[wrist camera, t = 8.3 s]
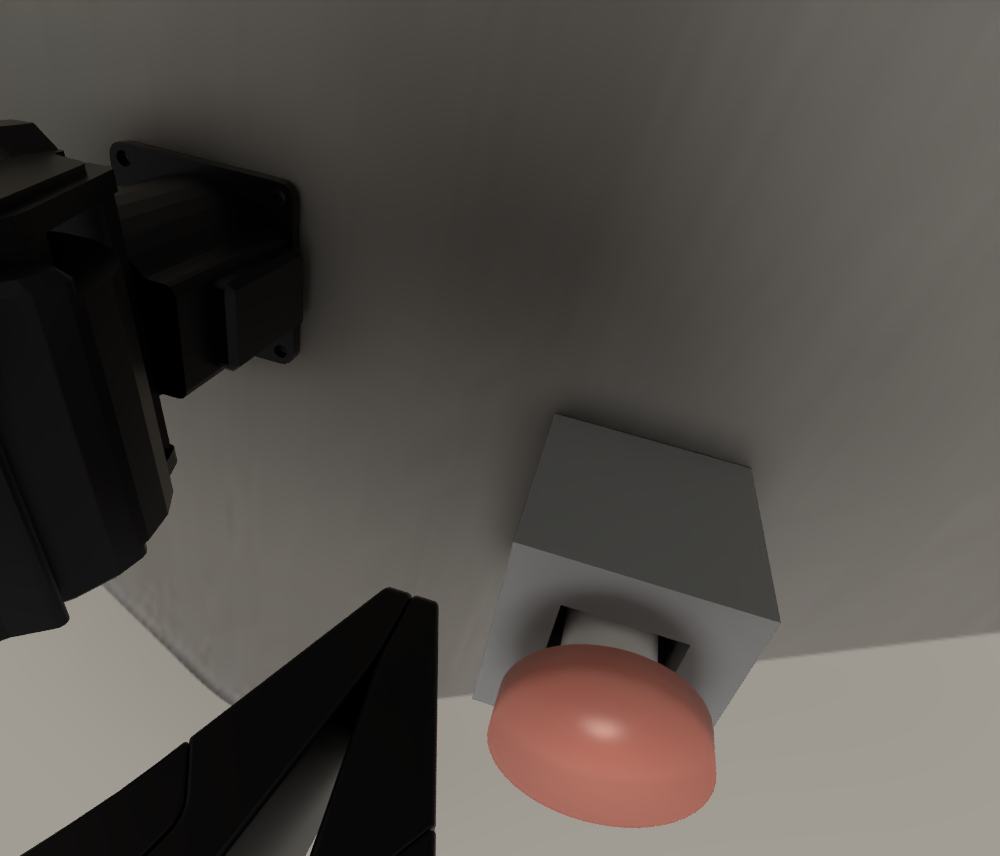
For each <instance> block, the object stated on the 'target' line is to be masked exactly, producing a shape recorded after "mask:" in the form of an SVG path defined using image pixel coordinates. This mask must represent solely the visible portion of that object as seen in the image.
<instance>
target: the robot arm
mask: <svg viewBox="0 0 1000 856" xmlns="http://www.w3.org/2000/svg"><path fill="white" fill-rule="evenodd" d="M125 153H127V154H128V155H129V157H130V160H131V161H130V163H129V161H128V160H127V159H126V156H125ZM110 160H111V166H112V167H109V166H104V165H97V164H91V163H85V162H82V161H78V160H75V159H71V158H67V157H65V154H64V150H59V149H58V148H57V147H56V146H55V145H54V144H53V143H52V142H51V141H50V140H49V139H48V138H47V137H46V136H45V135H44V134H43V133H42V131H41V130H40V129H39V128H38V127H37V126H36V125H35V124H34V123H31V122H24V121H18V120H1V121H0V641H1V640H4V639H7V638H10V637H15V636H20V635H25V634H30V633H35V632H41V631H46V630H50V629H55V628H60V627H62V626H63V625H65V624H66V623H67V622H68V621H69V614H68V612H67V609H66V607H65V604H64V602H66V601H69V600H72V599H75V598H77V597H79V596H81V595H83V594H84V593H87V592H88V591H90V590H92V589H94V588H96V587H98V586H100V585H102V584H104V583H106V582H108V581H110V580H112V579H114V578H116V577H117V576H119V575H120V574H121V573H123V572H124V571H125V570H127V569H128V568H129V567H131V566H132V565H133V564H135V563H136V562H137V561H139V560H140V559H142V558H143V557H144V555H145V554H146V553H147V547H146V542H147V541H148V540H149V539H150V538H151V536H152V535H153V534H154V532H155V531H156V530H157V528H158V527H159V526H160V524H161V523H162V522H163V520H164V519H165V518H166V516H167V515H168V512H169V508H170V503H171V499H172V495H173V488H172V484H171V479H170V475H171V473H172V471H173V469H174V467H175V465H176V463H177V458H176V453H175V449H174V446H173V445H171V444H170V443H169V438H168V434H167V429H166V425H165V420H164V416H163V411H162V407H161V402H160V398H159V396H160V395H162V394H165V395H168V396H172V397H175V398H182V399H183V398H184V397H185V396H187V395H188V394H190V393H191V392H192V391H194V390H195V389H197V388H198V387H200V386H201V385H202V384H204V383H205V382H207V381H208V380H210V379H211V378H212V377H214V376H215V375H217V374H218V373H220V372H221V371H222V370H224V369H228V370H231V371H234V370H236V369H237V368H239V367H240V366H242V365H243V364H244V363H246V362H247V361H249V360H250V359H251V358H253V357H254V356H256V357H260V358H263V359H267V360H270V361H274V362H277V363H282V364H286V363H289V362H291V361H292V360H293V359H294V358H295V357H296V356H297V355H298V351H299V324H300V323H301V322H302V320H303V255H302V253H301V252H300V250H299V196H298V192H297V190H296V188H295V187H294V186H293V185H292V184H291V183H290V182H289V181H286V180H284V179H280V178H276V177H272V176H268V175H264V174H260V173H256V172H252V171H248V170H244V169H240V168H236V167H232V166H229V165H225V164H221V163H217V162H213V161H209V160H205V159H201V158H197V157H193V156H189V155H185V154H181V153H177V152H173V151H169V150H165V149H161V148H157V147H153V146H149V145H145V144H141V143H137V142H133V141H119V142H115V143H114V144H112V146H111V148H110ZM278 190H280V191H282V193H283V194H284V195H285V199H286V201H285V204H284V203H282V202H281V201H280V200H279V198H278V194H277V193H278ZM280 345H281V346H283V347H284V348H285V349H286V351H287V353H285V352H283V351H282V350H281V348H280ZM438 613H439V609H438V604H437V602H435V601H432V600H429V599H426V598H423V597H420V596H414V597H413V598H412V596H411V595H410V594H409V593H407V592H404V591H401V590H398V589H395V588H391V587H388V588H385V589H383V590H382V591H380V592H379V593H378V594H376V595H375V596H374V597H373V598H371V599H370V600H369V601H367V602H366V603H365V604H363V605H362V606H361V607H360V608H358V609H357V610H356V611H354V612H353V613H352V614H350V615H349V616H348V617H347V618H345V619H344V620H343V621H341V622H340V623H339V624H337V625H336V626H335V627H334V628H332V629H331V630H330V631H328V632H327V633H326V634H324V635H323V636H322V637H321V638H319V639H318V640H317V641H315V642H314V643H313V644H311V645H310V646H309V647H308V648H306V649H305V650H304V651H302V652H301V653H300V654H298V655H297V656H296V657H295V658H293V659H292V660H291V661H289V662H288V663H287V664H286V665H284V666H283V667H282V668H280V669H279V670H278V671H276V672H275V673H274V674H273V675H271V676H270V677H269V678H267V679H266V680H265V681H263V682H262V683H261V684H260V685H258V686H257V687H256V688H254V689H253V690H252V691H250V692H249V693H248V694H247V695H245V696H244V697H243V698H241V699H240V700H239V701H237V702H236V703H235V704H234V705H232V706H231V707H230V708H228V709H227V710H226V711H224V712H223V713H222V714H221V715H219V716H218V717H217V718H215V719H214V720H213V721H211V722H210V723H209V724H208V725H206V726H205V727H204V728H203V729H201V730H200V731H199V732H197V733H196V734H195V735H193V736H192V737H191V738H190V741H189V743H187V742H184V743H183V744H181V745H180V746H179V747H177V748H176V749H175V750H173V751H172V752H171V753H170V754H168V755H167V756H166V757H164V758H163V759H162V760H161V761H159V762H158V763H157V764H155V765H154V766H152V767H151V768H150V769H148V770H147V771H146V772H144V773H143V774H142V775H140V776H139V777H137V778H136V779H135V780H133V781H132V782H131V783H129V784H128V785H127V786H125V787H124V788H123V789H121V790H120V791H119V792H117V793H115V794H114V795H113V796H111V797H109V798H108V799H106V800H105V801H104V802H102V803H100V804H99V805H97V806H96V807H94V808H93V809H92V810H90V811H88V812H87V813H85V814H84V815H83V816H81V817H79V818H78V819H77V820H75V821H73V822H72V823H70V824H69V825H67V826H66V827H64V828H63V829H61V830H59V831H58V832H57V833H55V834H54V835H52V836H50V837H49V838H47V839H46V840H44V841H43V842H41V843H39V844H38V845H36V846H35V847H33V848H31V849H30V850H28V851H27V852H25V853H24V854H22V855H20V856H305V855H306V853H307V852H308V849H309V848H310V846H311V844H312V842H313V840H314V838H315V836H316V834H317V836H316V839H315V842H314V845H313V848H312V851H311V853H310V856H435V854H436V852H435V851H436V850H435V849H436V834H435V832H434V830H435V826H436V762H437V760H436V759H437V688H438Z"/></svg>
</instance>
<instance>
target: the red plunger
mask: <svg viewBox="0 0 1000 856" xmlns="http://www.w3.org/2000/svg"><path fill="white" fill-rule="evenodd" d="M487 734H488V735H487V736H488V746H489V750H490V753H491V755H492V758H493V760H494V762H495V763H496V765H497V766H498V768H499V770H500V771H501V772H502V773H503V774H504V776H505V777H506V778H507V779H508V780H509V781H510V782H511V783H512V784H513V785H514V786H516V787H517V788H518V789H519V790H521V791H522V792H523V793H525V794H526V795H527V796H529V797H530V798H532V799H533V800H535V801H537V802H539V803H541V804H542V805H544V806H546V807H548V808H550V809H552V810H554V811H556V812H559V813H562V814H564V815H567V816H569V817H573V818H576V819H579V820H582V821H586V822H590V823H595V824H600V825H606V826H613V827H624V828H641V827H653V826H660V825H665V824H669V823H673V822H676V821H678V820H681V819H684V818H686V817H688V816H689V815H691V814H693V813H695V812H696V811H698V810H699V809H700V808H701V807H702V806H704V804H705V803H706V802H707V801H708V800H709V798H710V797H711V795H712V793H713V791H714V787H715V784H716V762H715V746H714V730H713V722H712V717H711V715H710V712H709V710H708V707H707V706H706V704H705V702H704V701H703V699H702V698H701V696H700V695H699V694H698V693H697V692H696V690H695V689H694V688H693V687H692V686H691V685H690V684H689V683H688V682H686V681H685V680H684V679H683V678H682V677H680V676H679V675H677V674H676V673H675V672H673V671H672V670H670V669H668V668H667V667H665V666H663V665H662V664H660V663H658V635H656V634H653V633H650V632H647V631H644V630H640V629H637V628H634V627H631V626H627V625H624V624H621V623H618V622H615V621H611V620H608V619H605V618H602V617H599V616H595V615H592V614H589V613H586V612H582V611H579V610H576V609H573V608H570V607H568V609H567V614H566V619H565V625H564V630H563V635H562V640H561V645H560V646H554V647H549V648H545V649H542V650H539V651H536V652H533V653H531V654H529V655H527V656H525V657H523V658H522V659H521V660H519V661H518V662H516V663H515V664H514V665H513V666H512V667H511V668H510V669H509V670H508V671H507V673H506V674H505V676H504V677H503V679H502V682H501V684H500V687H499V690H498V694H497V698H496V701H495V705H494V709H493V713H492V716H491V720H490V724H489V728H488V733H487Z"/></svg>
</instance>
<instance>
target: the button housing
mask: <svg viewBox="0 0 1000 856" xmlns="http://www.w3.org/2000/svg"><path fill="white" fill-rule="evenodd" d="M568 607H570V608H573V609H576V610H579V611H582V612H586V613H589V614H592V615H595V616H599V617H602V618H605V619H608V620H611V621H615V622H618V623H621V624H624V625H627V626H631V627H634V628H637V629H640V630H644V631H647V632H650V633H653V634H656V635H658V663H660V664H662V665H663V666H665V667H667V668H668V669H670V670H672V671H673V672H675V673H676V674H677V675H679V676H680V677H682V678H683V679H684V680H685V681H686V682H688V683H689V684H690V685H691V686H692V687H693V688H694V689H695V690H696V692H697V693H698V694H699V695H700V696H701V698H702V699H703V701H704V702H705V704H706V706H707V707H708V710H709V712H710V715H711V717H712V722H713V727H714V726H715V724H716V723H717V721H718V720H719V718H720V717H721V715H722V713H723V712H724V710H725V709H726V707H727V706H728V704H729V703H730V701H731V699H732V698H733V696H734V695H735V693H736V692H737V690H738V689H739V687H740V686H741V684H742V682H743V681H744V679H745V678H746V676H747V675H748V673H749V672H750V670H751V668H752V667H753V665H754V664H755V662H756V661H757V659H758V658H759V656H760V654H761V653H762V651H763V650H764V648H765V647H766V645H767V644H768V642H769V641H770V639H771V637H772V636H773V634H774V633H775V631H776V630H777V628H778V627H779V625H780V623H781V622H780V616H779V611H778V606H777V601H776V595H775V590H774V585H773V580H772V575H771V569H770V564H769V559H768V554H767V549H766V543H765V538H764V533H763V528H762V522H761V517H760V512H759V507H758V502H757V496H756V491H755V486H754V481H753V475H752V470H751V468H748V467H745V466H741V465H737V464H734V463H730V462H727V461H723V460H720V459H716V458H712V457H709V456H705V455H702V454H698V453H695V452H691V451H687V450H684V449H680V448H677V447H673V446H669V445H666V444H662V443H659V442H655V441H652V440H648V439H644V438H641V437H637V436H634V435H630V434H627V433H623V432H619V431H616V430H612V429H609V428H605V427H602V426H598V425H594V424H591V423H587V422H584V421H580V420H577V419H573V418H569V417H566V416H562V415H559V414H554V418H553V421H552V424H551V427H550V430H549V433H548V436H547V439H546V442H545V445H544V448H543V451H542V454H541V457H540V461H539V464H538V467H537V470H536V473H535V476H534V479H533V482H532V485H531V488H530V491H529V494H528V497H527V500H526V504H525V507H524V510H523V513H522V516H521V519H520V522H519V525H518V528H517V531H516V534H515V537H514V540H513V544H512V548H511V551H510V555H509V559H508V563H507V567H506V571H505V574H504V578H503V582H502V586H501V590H500V594H499V598H498V601H497V605H496V609H495V613H494V617H493V621H492V624H491V628H490V632H489V636H488V640H487V644H486V647H485V651H484V655H483V659H482V663H481V667H480V670H479V674H478V678H477V682H476V686H475V690H474V693H473V697H472V699H474V700H478V701H481V702H483V703H487V704H489V705H492V706H494V705H495V701H496V698H497V694H498V690H499V687H500V684H501V682H502V679H503V677H504V676H505V674H506V673H507V671H508V670H509V669H510V668H511V667H512V666H513V665H514V664H515V663H516V662H518V661H519V660H521V659H522V658H523V657H525V656H527V655H529V654H531V653H533V652H536V651H539V650H542V649H545V648H549V647H554V646H560V645H561V640H562V635H563V630H564V625H565V619H566V614H567V609H568Z"/></svg>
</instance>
